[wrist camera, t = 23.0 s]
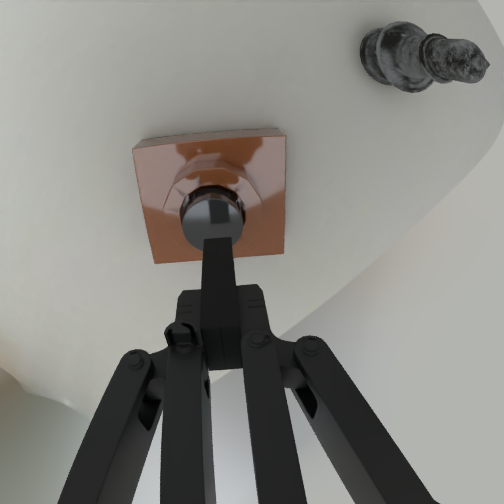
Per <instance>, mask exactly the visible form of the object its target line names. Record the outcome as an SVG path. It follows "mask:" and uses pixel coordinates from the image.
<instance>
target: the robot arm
mask: <svg viewBox="0 0 504 504" xmlns="http://www.w3.org/2000/svg"><path fill="white" fill-rule="evenodd" d="M164 335H165V338H166V341H167V344H168V347H166V348H165V349H163V350H161V351H159V352H155V353H152V354H148V353H147V352H146V351H144V350H141V349H135V350H131V351H129V352H127V353H126V354H124V356H123V357H122V358H121V360H120V362H119V364H118V366H117V368H116V370H115V372H114V374H113V376H112V378H111V380H110V382H109V385H108V387H107V389H106V391H105V393H104V395H103V397H102V399H101V401H100V403H99V406H98V408H97V410H96V412H95V414H94V416H93V419H92V421H91V423H90V425H89V428H88V430H87V432H86V434H85V437H84V439H83V441H82V444H81V446H80V448H79V450H78V453H77V455H76V458H75V460H74V462H73V465H72V467H71V470H70V472H69V475H68V477H67V480H66V482H65V485H64V488H63V490H62V493H61V495H60V498H59V501H58V503H57V504H132V501H133V497H134V494H135V491H136V488H137V485H138V482H139V479H140V476H141V473H142V470H143V466H144V463H145V460H146V457H147V454H148V451H149V448H150V445H151V442H152V439H153V436H154V434H155V431H156V428H157V424H158V422H159V419H160V416H161V413H162V410H163V423H162V441H161V472H160V504H216V493H215V479H214V463H213V444H212V422H211V396H210V379H209V374H208V367H209V371H213V370H227V369H239V368H243V374H244V385H245V393H246V403H247V412H248V421H249V429H250V438H251V446H252V455H253V463H254V472H255V480H256V488H257V495H258V503H259V504H307V501H306V495H305V490H304V485H303V480H302V475H301V470H300V465H299V459H298V454H297V449H296V444H295V440H294V434H293V430H292V424H291V420H290V414H289V410H288V405H287V400H286V395H285V389H284V387H285V388H291V390H292V392H293V394H294V396H295V398H296V400H297V402H298V403H299V405H300V407H301V409H302V411H303V413H304V414H305V416H306V418H307V420H308V422H309V423H310V425H311V427H312V429H313V431H314V432H315V434H316V436H317V438H318V440H319V441H320V443H321V445H322V447H323V448H324V450H325V452H326V454H327V456H328V457H329V459H330V461H331V463H332V464H333V466H334V468H335V470H336V471H337V473H338V475H339V477H340V478H341V480H342V482H343V484H344V485H345V487H346V489H347V490H348V492H349V494H350V495H351V497H352V499H353V501H354V502H355V504H440V503H438V502H436V501H435V500H434V499H433V498H432V497H431V495H430V494H429V492H428V491H427V489H426V488H425V486H424V485H423V483H422V482H421V480H420V479H419V477H418V476H417V474H416V473H415V471H414V470H413V468H412V467H411V466H410V464H409V463H408V461H407V460H406V458H405V457H404V455H403V454H402V452H401V451H400V449H399V448H398V446H397V445H396V444H395V442H394V441H393V439H392V438H391V436H390V435H389V433H388V432H387V430H386V429H385V427H384V426H383V425H382V423H381V422H380V420H379V419H378V418H377V416H376V414H375V413H374V412H373V410H372V409H371V407H370V406H369V404H368V403H367V401H366V400H365V399H364V397H363V396H362V394H361V393H360V391H359V390H358V388H357V387H356V385H355V384H354V383H353V381H352V380H351V378H350V377H349V375H348V374H347V372H346V371H345V370H344V368H343V367H342V365H341V364H340V362H339V361H338V360H337V358H336V357H335V355H334V354H333V352H332V351H331V349H330V348H329V347H328V345H327V344H326V343H325V342H324V341H323V340H322V339H321V338H319V337H317V336H304V337H302V338H300V339H298V340H297V342H289V341H284V340H281V339H279V338H277V337H276V336H274V334H273V333H272V332H271V329H270V325H269V320H268V315H267V310H266V306H265V300H264V295H263V291H262V289H261V288H260V287H259V286H258V285H257V284H251V285H239V286H236V280H235V270H234V260H233V249H232V238H231V237H222V238H210V239H204V243H203V261H202V282H201V289H198V290H184V291H182V293H181V294H180V296H179V297H178V301H177V310H176V318H175V322H173V323H171V324H170V325H169V326H168V327H167V328H166V329H165V332H164Z"/></svg>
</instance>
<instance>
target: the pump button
mask: <svg viewBox="0 0 504 504" xmlns="http://www.w3.org/2000/svg"><path fill="white" fill-rule="evenodd" d="M182 230H183V234H184V236H185V238H186V240H187V241H188V242H189V243H190V244H191V245H192V246H193V247H195V248H196V249H198V250H201V251H203V243H204V239H210V238H222V237H231V238H232V246H233V245H234V244H235V243H236V242H237V241H238V240H239V238H240V236H241V234H242V231H243V219H242V213H241V207H240V204H239V202H238V200H237V199H236V198H235V196H234V195H232V194H231V193H230V192H228V191H226V190H224V189H221V188H215V187H212V188H205V189H202V190H200V191H198V192H196V193H195V194H193V195H192V196H191V197H190V199H189V200H188V202H187V204H186V207H185V211H184V216H183V220H182Z"/></svg>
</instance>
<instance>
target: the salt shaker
mask: <svg viewBox="0 0 504 504" xmlns="http://www.w3.org/2000/svg"><path fill="white" fill-rule="evenodd" d="M360 57H361V62H362V64H363V66H364V68H365V70H366V71H367V73H368V74H369V75H370V76H371V77H372V78H373V79H375V80H376V81H378V82H380V83H382V84H386V85H394V86H395V87H397V88H399V89H400V90H402V91H406V92H411V93H414V92H420V91H423V90H425V89H427V88H428V87H429V86H430V85H431V84H432V83H433V81H435V82H438V83H449V82H451V81H452V80H455V81H460V82H465V83H477V82H479V81H480V80H481V79H482V78H483V77H484V75H485V72H486V69H487V68H488V67H489V66H490V64H489V62H488V61H487V60H486V59H485V57H484V55H483V53H482V51H481V50H480V49H479V47H478V46H477V45H476V44H474V43H473V42H471V41H469V40H465V39H447V38H446V37H445V36H443V35H440V34H434V33H432V34H429V35H427V34H426V33H425V32H424V31H423V30H422V29H421V28H419V27H418V26H416V25H415V24H412V23H409V22H401V21H398V22H394V23H391V24H389V25H388V26H386V27H385V28H378V29H375V30H372V31H370V32H369V33H368V34H366V36H365V37H364V38H363V40H362V43H361V46H360Z"/></svg>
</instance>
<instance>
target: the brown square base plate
mask: <svg viewBox="0 0 504 504" xmlns="http://www.w3.org/2000/svg"><path fill="white" fill-rule="evenodd" d="M132 151H133V158H134V164H135V170H136V176H137V182H138V187H139V193H140V198H141V203H142V208H143V213H144V218H145V223H146V228H147V232H148V237H149V242H150V246H151V250H152V255H153V259H154V263H155V264H161V263H174V262H187V261H200V260H203V251H201V250H198V249H196V248H195V247H193V246H192V245H191V244H190V243H189V242H188V241H187V240H186V238H185V236H184V234H183V230H182V220H183V216H184V211H185V207H186V204H187V202H188V200H189V199H190V197H191V196H192V195H193V194H195V193H196V192H198V191H200V190H202V189H205V188H212V187H215V188H221V189H224V190H226V191H228V192H230V193H231V194H232V195H234V196H235V198H236V199H237V200H238V202H239V204H240V207H241V213H242V219H243V231H242V234H241V236H240V238H239V240H238V241H237V242H236V243H235V244H234V245H233V246H232V249H233V258H238V257H250V256H263V255H276V254H284V235H285V192H286V135H285V134H284V133H283V132H282V131H280V130H279V129H278V128H275V129H247V130H230V131H216V132H204V133H193V134H184V135H175V136H167V137H159V138H151V139H145V140H141V141H140V142H139V143H138V144H137V145H136V146H135V147H134V148H133V149H132Z"/></svg>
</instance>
